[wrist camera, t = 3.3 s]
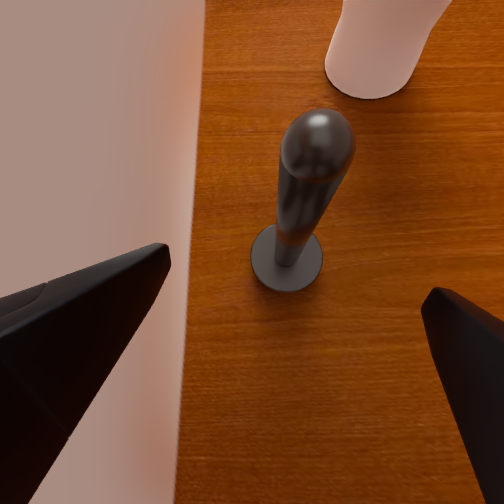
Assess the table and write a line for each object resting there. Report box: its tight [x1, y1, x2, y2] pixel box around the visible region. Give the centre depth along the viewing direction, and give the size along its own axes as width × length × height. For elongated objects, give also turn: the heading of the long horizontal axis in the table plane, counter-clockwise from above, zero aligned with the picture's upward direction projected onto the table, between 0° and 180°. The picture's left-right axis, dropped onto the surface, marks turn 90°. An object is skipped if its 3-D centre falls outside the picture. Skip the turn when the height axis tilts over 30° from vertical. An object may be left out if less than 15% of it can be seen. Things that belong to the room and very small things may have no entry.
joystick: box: [250, 108, 356, 294], centre depth 11 cm, size 5×5×14 cm
